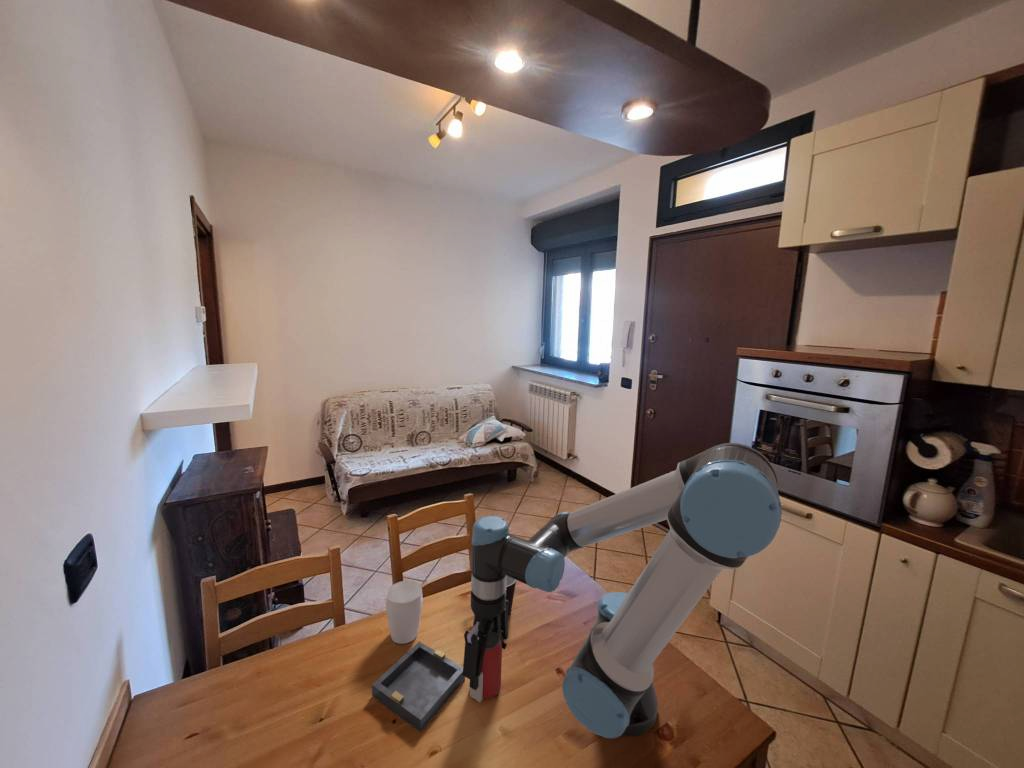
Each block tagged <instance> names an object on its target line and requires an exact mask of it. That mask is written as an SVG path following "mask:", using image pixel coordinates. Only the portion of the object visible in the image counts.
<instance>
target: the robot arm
mask: <svg viewBox="0 0 1024 768" xmlns="http://www.w3.org/2000/svg"><path fill="white" fill-rule="evenodd" d="M782 515H783V514H782V503H781V499H780V494H779V489H778V477H777V473H776V471H775V469H774V467H773V465H772V463H771V462H770V460H768V458H767V457H766V456H765V455H764V454H762V453H761V452H760V451H759V450H757V449H755V448H754V447H751V446H749V445H746V444H742V443H738V442H737V443H736V442H735V443H734V442H725V443H721V444H717V445H714V446H712V447H710V448H707V449H705V450H704V451H702V452H700V453H697V454H695V455H694V456H693V455H692V456H691V457H689V458H686V459H684V460H682V461H680V462H677V466H676V469H675V470H672V471H669V473H665V474H663V475H660V476H657V477H655V478H653V479H650V480H647V481H646V482H643V483H640V484H638V485H635V486H633V487H630V488H628V489H625V490H623V491H620V492H618V493H616V494H613V495H610V496H608V497H605V498H603V499H600V500H598V501H595V502H593V503H591V504H588V505H586V506H582V507H581V508H578V509H575V510H573V511H571V512H569V511H562V512H559V513H557V514H556V515H554V516H553V517H552V518H550V520H549V521H548V522H547V523H546V524H545V525H543V526H542V527H541V528H540V529H539V530H538V531H537V532H536V533H535V534H534V535H532V536H531V537H529V539H525V538H522V537H518V536H516V535H513V534H510V527H509V526H510V525H509V523H508V521H506V520H505V519H504V518H503V517H500V516H497V515H496V516H495V515H488V516H487V515H486V516H482V517H480V518H479V519H478V520H476V521H475V522H474V524H473V526H472V535H471V543H470V544H471V572H470V573H471V576H470V577H471V580H470V582H471V583H470V584H471V585H470V609H471V611H472V613H473V615H474V619H473V622H472V628H471V629H470V631H469V630H465V631H464V635H463V638H464V641H465V642H464V654H463V655H464V656H463V664H462V665H463V666H462V667H463V676H465V679H466V678H467V679H468V680H469V697H470V698H472V699H473V700H476V701H477V702H478V703H481V702H482V701H483V699H482V694H483V672H481V668H482V663H483V658H484V653H485V648H486V643H487V642H488V641H489V639H490V634H491V631H493V632H495V633H498V634H499V636H500V641H501V644H502V650H505V649H506V648H507V645H508V644H507V643H506V642H505V641H506V640H508V638H509V620H508V618H509V615H508V605H509V601H508V600H506V588H507V576H509V577H511V578H513V579H515V580H516V581H518V582H520V583H523V584H525V585H526V586H529V587H530V588H533V589H538V590H540V591H543V592H546V593H552V592H554V591H555V590H556V589H558V587H559V586H560V582H561V581H562V579H563V577H564V573H565V567H566V566H565V564H566V563H565V558H566V557H567V555H568V554H569V553H572V552H573V551H577V550H580V549H583V548H585V547H588V546H591V545H593V544H597V543H600V542H604V541H606V540H610V539H612V538H615V537H618V536H621V535H624V534H627V533H630V532H633V531H636V530H639V529H642V528H645V527H648V526H651V525H653V524H657V523H660V522H663V521H667V524H668V526H669V530H668V532H667V533H666V534H665V537H664V538H663V539H662V541H661V543H660V544H659V546H658V547H657V549H656V551H655V552H654V553H653V555H652V557H650V559H649V561H648V563H647V564H646V565H645V567H644V569H643V570H642V572H641V573H640V575H639V576H638V577H637V579H636V581H635V582H634V584H633V585H632V587H631V589H630V591H628V592H622V591H621V592H620V591H617V592H616V591H610V592H607V593H605V594H603V595H602V596H601V597H600V599H599V602H598V605H597V612H598V613H597V619H596V621H595V623H594V624H593V626H592V628H591V630H590V632H589V633H588V635H587V637H586V639H585V641H584V643H582V646H581V647H580V650H579V651H578V653H577V655H576V656H575V658H574V660H573V661H572V663H571V665H570V667H569V668H567V669H566V672H565V677H564V678H563V681H562V694H563V698H564V700H565V701H566V705H567V708H568V709H569V710H570V712H571V714H572V715H573V717H574V718H575V719H576V720H577V721H578V722H579V723H580V724H581V725H582V726H583V727H584V728H586V729H587V730H588V731H590V732H592V733H593V734H595V735H596V736H601V737H603V738H604V739H605V738H606V739H616V738H619V737H620V736H626V737H635V736H637V737H638V736H640V735H643V734H646V733H647V732H649V731H651V729H652V728H653V726H654V725H655V723H656V720H657V716H658V715H657V714H658V698H657V693H656V690H655V685H654V682H653V681H654V676H655V670H654V662H655V660H657V658H658V657H659V656H660V654H661V653H662V651H663V650H664V649H665V648H666V646H667V645H668V643H669V642H670V641H671V640H672V638H673V637H674V636H675V634H676V632H677V631H678V630H679V628H680V627H681V626H682V624H683V623H684V622H685V620H686V619H687V618H688V616H690V614H691V612H692V611H693V610H694V608H695V607H696V606H697V604H698V603H699V602H700V600H701V599H702V597H703V596H704V595H705V593H706V592H707V591H708V589H709V588H710V587H711V586H712V584H714V583H713V582H714V581H715V580H716V579H717V577H718V576H719V575H720V574H721V572H722V571H723V569H725V570H737V569H739V568H740V567H742V566H743V564H744V563H745V562H746V561H747V559H748V558H749V557H752V556H755V555H757V554H759V553H761V552H762V551H764V550H765V549H766V548H767V547H768V546H769V545H770V544H771V543H772V542H773V541H774V539H775V537H776V535H777V533H778V530H779V528H780V525H781V522H782ZM484 635H485V636H484Z"/></svg>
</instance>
